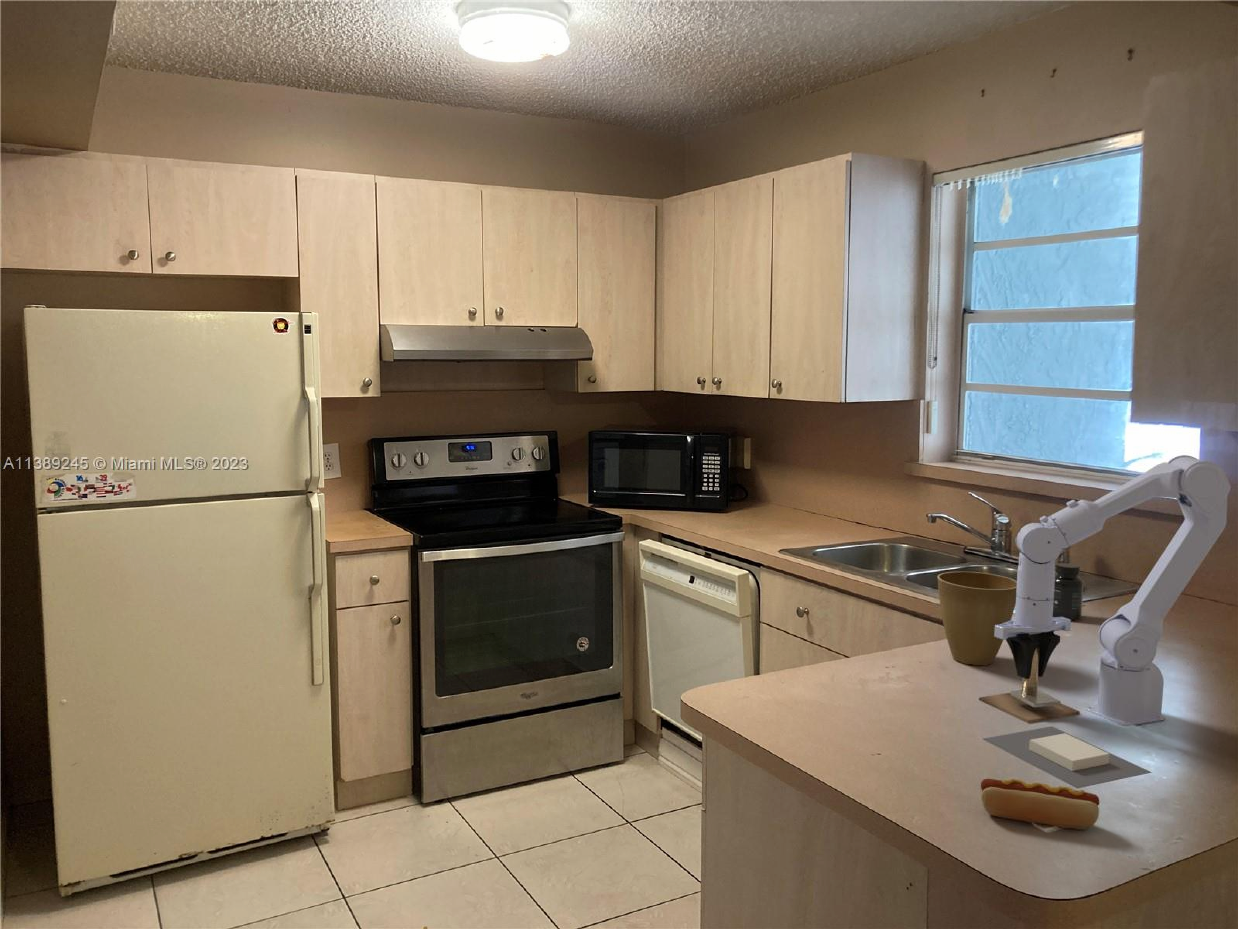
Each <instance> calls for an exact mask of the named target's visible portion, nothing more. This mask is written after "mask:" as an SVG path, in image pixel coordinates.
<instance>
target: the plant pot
mask: <svg viewBox="0 0 1238 929" xmlns="http://www.w3.org/2000/svg"><path fill="white" fill-rule="evenodd" d="M937 588H938V589H937V590H938V598H939V600H938V601H939V605H940V614H941V618H942V623H943V628H944V632H945V636H946V640H947V643H948V646H949V650H950V653H951V656H952V659H953V660H954V661H957V662H958V661H959V662H958V663H961V664H966V665H969V664H974V665H973V666H978V665H983V666H986V665H985V664H990V665H992V664H993V663H994V661H995V659H996V658H997V655H998V653H999V650H1000V648H1001V646H1002V644H1003V642H1004V640H1003V639H1000V638H997V637H995V636H994V632H995V625H999V624H1003V623H1005V622H1008V621H1011V620H1012V617H1013V616H1014V612H1015V608H1016V589H1017V580H1015V579H1013V578H1010V577H1007V576H1002V575H1000V574H994V573H986V572H978V571H977V572H976V571H947V572H942V573H940V574H938V575H937ZM991 663H992V664H991Z"/></svg>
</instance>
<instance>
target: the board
mask: <svg viewBox="0 0 1238 929" xmlns="http://www.w3.org/2000/svg"><path fill="white" fill-rule="evenodd" d="M1010 694H1011V692H1006V693H1000V694H998V693H997V694H992V695H986V696H980V697H978V700H979V701H980V702H983V703H984V704H986V705H989V706H991V707H992V708H995V709H998V710H999V711H1002V712H1003V713H1006V714H1008V715H1010V716H1012V717H1014V718H1016V719H1019V720H1021V721H1022V722H1024V723H1027V724H1030V723H1036V722H1041V721H1047V720H1048V721H1049V720H1054V719H1059V718H1065V717H1069V716H1076V715H1080V713H1081V712H1080V710H1077V709H1075V708H1073V707H1070V706H1068V705H1066V704H1063V703H1060V705H1053V706H1043V707H1032V706H1031V705H1029V704H1027V703H1025V702H1023V701H1021V700H1020V699H1018V698H1016V697H1014V696H1012V695H1010Z"/></svg>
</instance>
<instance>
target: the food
mask: <svg viewBox="0 0 1238 929" xmlns="http://www.w3.org/2000/svg"><path fill="white" fill-rule="evenodd" d="M980 789H981V794H980V797H981V801H982V806H983V808H984V810H985V811H986V812H987V813H988V815H990V816H993V817H997V818H1003V819H1009V820H1016V821H1021V822H1022V821H1023V822H1026V823H1032V824H1035V823H1036V824H1043V825H1047V826H1048V825H1049V826H1053V827H1058V828H1062V829H1063V828H1064V829H1074V830H1075V829H1076V830H1088V829H1091V828H1092V827H1093V826H1094V825H1095V823H1096V822H1097V821H1098V819H1099V815H1100V809H1099V805H1100V798H1099V796H1098V795H1097V794H1095V793H1092V792H1087V791H1084V790H1083V789H1080V790H1075V789H1073V788H1071V787H1068V786H1061V785H1060V786H1050V785H1048V784H1046V783H1042V782H1033V783H1032V782H1031V783H1028V782H1027V783H1026V782H1025V781H1024V780H1021V779H1014V778H1011V779H1007V780H1005V779H996V778H984V779H982V780H981V782H980Z"/></svg>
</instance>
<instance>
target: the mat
mask: <svg viewBox="0 0 1238 929" xmlns="http://www.w3.org/2000/svg"><path fill="white" fill-rule="evenodd" d="M1064 733H1066V734H1068V735H1070V736H1072V737H1074V738H1076V739H1079V740H1081V741H1083V742H1085V743H1087V744H1089V745H1092V746H1094V747H1096V748H1098V749H1100V750H1102V751H1105V752H1107V753H1109V764H1105V765H1100V766H1095V767H1090V768H1085V769H1080V770H1075V771H1071V770H1069V769H1067V768H1065V767H1063V766H1061V765H1059V764H1057V763H1055V762H1053V761H1051V760H1049V759H1047V758H1045V757H1043V756H1041V755H1039V754H1037V753H1035V752H1033V751H1031V750H1029V742H1030V740H1032V739H1037V738H1043V737H1048V736H1053V735H1059V734H1064ZM983 740H984V741H986V742H987V743H989V744H991V745H993V746H995V747H996V748H998V749H1001V750H1003V751H1005V752H1007V753H1008V754H1010V755H1012V756H1014V757H1016V758H1018V759H1020V760H1022V761H1024V762H1025V763H1027V764H1030V765H1031V766H1034V767H1035V768H1037V769H1040V770H1041V771H1043V772H1045V773H1046V774H1049V775H1050V776H1053V777H1054V778H1057V779H1059V780H1060V781H1062V782H1064V783H1065V784H1068V785H1070V786H1072V787H1074V788H1076V789H1079V788H1085V787H1089V786H1093V785H1098V784H1104V783H1107V782H1108V783H1109V782H1111V781H1116V780H1121V779H1126V778H1127V779H1128V778H1131V777H1135V776H1141V775H1144V774H1145V775H1146V774H1150V773H1151V774H1152V771H1150V770H1148V769H1145V768H1143V767H1142V766H1139V765H1137V764H1135V763H1133V762H1130V761H1128V760H1126V759H1124V758H1122V757H1120V756H1118V755H1115V754H1113V753H1111V752H1110V751H1109V752H1108V751H1107V750H1104V749H1103V748H1100V747H1098V746H1096V745H1093V744H1091V743H1089V742H1087V741H1085V740H1083V739H1080V738H1078V737H1076V736H1073V735H1072V734H1069V733H1067V732H1065V731H1064V730H1061V729H1059V728H1057V727H1054V726H1046V727H1042V728H1041V727H1040V728H1036V729H1034V728H1033V729H1030V730H1023V731H1019V732H1012V733H1008V734H1003V735H1002V734H1001V735H1000V734H999V735H996V736H991V737H990V736H988V737H985V738H982V741H983Z"/></svg>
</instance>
